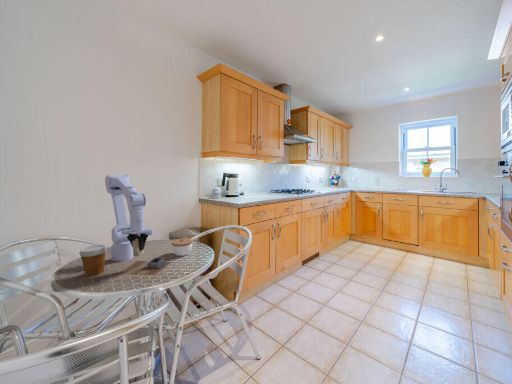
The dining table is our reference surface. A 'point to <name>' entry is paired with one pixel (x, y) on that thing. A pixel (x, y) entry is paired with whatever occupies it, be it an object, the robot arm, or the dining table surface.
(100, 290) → the dining table surface
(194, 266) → the dining table surface
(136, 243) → the tan wooden block
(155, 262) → the grey square socket
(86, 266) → the disposable coffee cup
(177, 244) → the lidded jar
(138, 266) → the walnut board
